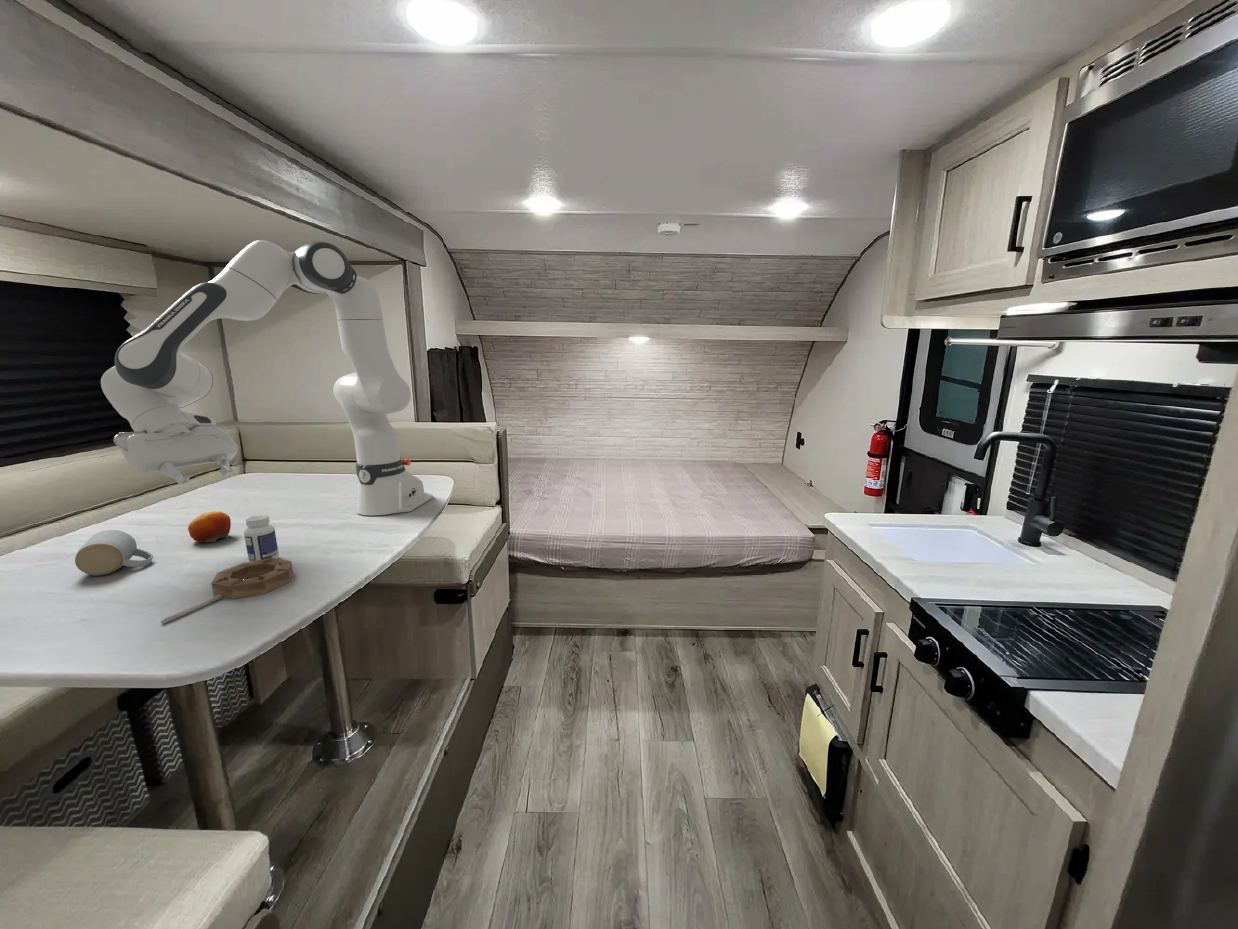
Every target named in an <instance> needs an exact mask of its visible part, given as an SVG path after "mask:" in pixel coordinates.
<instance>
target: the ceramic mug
mask: <svg viewBox="0 0 1238 929" xmlns="http://www.w3.org/2000/svg"><path fill="white" fill-rule="evenodd" d="M137 546H138V544H137V542H136V540H135V538H134V537H133V536H132V535H131V534H129V533H127V532H126V531H122V530H117V529H106V530H102V531H98V532H97V533H95V534H93V535H91V537H90V538H89V539H88V540H87V541H86V542H85V543H84V544H83V545H82V546H81V547H80V548H79V549H78V551H77V552H76V555H75V557H74V558H75V559H74V562H75V566H76V568H77V569H78V570H79V571H80V572H83V573H84V574H86V575H90V576H99V577H100V576H105V575H109V574H113V573H115V572H116V571H118V570H119V569H121V568H122V567H123V566H124V567H129V568H143V567H146V566H147V567H148V565H150V564H151V563H152V560H153V558H154V555H153V554H152V553H151V552H149V551H147V550H144V549H141V548H137ZM133 556H134V557H140V558H141V559H142V558H143V559H142V560H137V559H131V558H132V557H133Z"/></svg>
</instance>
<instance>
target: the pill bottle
mask: <svg viewBox="0 0 1238 929" xmlns="http://www.w3.org/2000/svg"><path fill="white" fill-rule="evenodd" d="M270 521H271V520H270V517H269V515H268V514H262V515H260V514H259V515H254V516H250V517H248V518H246V519H245V525H246V529H245V530H244V531H243V535H244V541H245V546H246V548H245V549H246V553H247V558H248V562H251V561H257V560H264V559H270V558H275V559H279V557H280V553H279V547H278V542H277V534H276V529H275V526H274V525H272V524H269V523H270Z"/></svg>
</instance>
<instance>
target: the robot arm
mask: <svg viewBox="0 0 1238 929" xmlns="http://www.w3.org/2000/svg"><path fill="white" fill-rule="evenodd" d="M289 287H292V288H295V289H297V290H299V291H302V292H304V293H307V294H314V295H315V294H318V295H319V294H327V296H328V297H329V298H330V300H331V301H332V302H333V305H334V308H335V314H336V316H335V317H336V320H337V328H338V333H339V334H338V335H339V339H340V345H341V351H342V352H343V354H344V355H345V356H346V357H347V358H348V360H349V361H350V363H351V365H352V367H353V369H354V371H355V372H352V373H351V372H350V373H348V374H346V375H343V376H341V377H339V378H338V379H337V380H335V382H334V385H333V391H332V392H333V396H334V399H335V401H336V402H337V403H338V404H339V405H340V406H341V408H342V409H343V411H344V414H345V416H346V418H347V421H348V424H349V426H350V429H351V432H352V437H353V441H354V447H355V449H354V450H355V454H356V455H355V456H356V462H355V470H356V472H355V473H356V476H357V479H358V480H357V502H356V503H355V507H356V511H355V512H356V513H357V514H359V515H362V516H385V515H391V514H393V515H394V514H399V513H408V512H412V511H414V510H416V508H419V507H420V506H422V505H423V504H426V503H427V502H429V501H430V500H432V499H433V498H434V496H433V494H432V493H429V492H425V488H424V484H423V482H422V480H421V479H420V478H419V477H416V476H415V475H413V474H412V473H410V472H409V471H407V470H406V466H411V463H412V461H411V459H410V458H403V459H401V456H400V448H399V438H398V434H397V433H398V432H397V431H396V429H395V428H394V427H393V426H392V424H390V421H389V418H388V416H387V415H389V414H395V413H398V412H401V411H403V410H405V409H406V408H407V407H408V405H409V404H410V401H411V398H412V397H411V388H410V385H409V384H408V382H407V381H405V380H404V379H403V378H402V376H401V375H400V374H399V372H398V371H397V368H396V366H395V363H394V362H393V359H392V356H391V354H390V352H389V348H388V343H387V342H388V341H387V336H386V330H385V324H384V323H385V322H384V316H383V311H382V306H381V303H380V302H381V301H380V300H379V296H378V293H377V290H376V286H375V285H374V283H373V282H371V281H370V280H369V279H368V278H364V277H363V276H358V275H357V272H356V270H355V269H354V268H353V266H352V264H351V263H350V261H349V259H348V258H347V256H346V255H345V254H344V252H343V250H341V249H340V248H339V247H337V246H335V245H334V244H332V243H329V242H327V241H317V240H316V241H312V242H309V243H307V244H304V245H302V246H300V247H299V248H297V249H295V250H294V251H288V250H286V249H284V248H282V247H281V246H280V245H277V244H276V243H274V242H271V241H270V240H265V239H257V240H254V241H253V242H251V243H250V244H248V245H246V246H245V247H244V248H243V249H242V250H241V251H240V252H238V254H236V255H235V256H234V257H233V258H232V259H231V260H230V261H229V263H228V264H227V265H226V266H225V267H224V269H222V271H221V272H220V273H219V274H218V275H216V276H215V277H214V278H213V279H212V280H210V281H208V282H201V283H198V284H197V285H195V286H193V287H192V288H191V289H189V290H188V291H186V292H185V293H184V294H183V295H182V296H181V297H180V298H178V299H177V300H176V301H175V302H174V303H173V304H172V305H171V306H170V307H168V308H167V309H166V310H165V311H164V312H163V313H162V314H161V315H160V316H159V317H157V318H156V319H155V321H153V322H152V323H151V324H150V325H149V326H148V327H146V328H144V329H143V330H142V331H141V332H139V333H137V334H136V335H134V336H132V337H131V338H129V339H127V340H126V341H124V342H123V343H122V344H121V345H120V346H119V347H118V348H117V350H116V352H115V356H114V366H112V367H110V368H109V369H107V370H106V371H105V372H104V373H103V374H102V376H101V379H100V387H101V389H102V392H103V394H104V396H105V397H106V399H107V400H108V402H109V403H110V404H111V405H112V408H114V410H116V412H117V413H118V414H119V415H120V416H121V417H122V418H124V419H126V420H127V421H128V423H129V424H130V427H131V429H132V430H133V431H129V432H127V431H124V432H123V431H122V432H118V433H117V434H116V435H115V436H113V443H114V444H115V445H116V446H117V447H118V448H119V449H120V451H121V453H122V455H123V458H124V459H125V460H126V461H127V463H128V464H129V466H130V467H131V468H132V469H133V471H136V472H138V473H143V474H144V473H151V472H155V471H156V472H157V471H159V473H160V474H162V475H164V476H166V477H168V478H171V479H173V480H174V481H175V482H176V483H177V484H178V485H179V484H180V485H181V484H185V483H188V482H189V480H190V477H191V476H189V475H188V474H187V472H186V471H180V470H178V468H184V467H191V466H192V467H193V466H197V465H198V466H199V465H204V464H205V465H206V464H212V463H216V465H217V466H220V469H218V472H219V473H220V474H221V475H222V476H223V477H226V476H231V475H232V474H233V473H234V469H233V467H231V465H230V461H231V460H233V459H234V458H235V457H236V455H237V453H238V452H239V446H238V445H237V443H236V442H235V441H234V440H233V438H232V437H231V436H230V435H229V434H228V433H227V432H226V431H225V430H223V429H222V428H221V427H218V426H216V425H217V422H216V420H215V419H214V418H212V417H211V416H205V415H199V414H193V413H190V412H187V411H183V410H182V408H183V409H184V408H185V407H187V406H191V405H192V404H193V403H196V402H198V401H200V400H201V399H203V398H205V396H207V395H208V394H209V393H210V391H211V390H212V388H213V384H214V377H213V373H212V372H211V370H210V369H209V368H208V367H207V366H205V365H204V364H202V363H200V362H199V361H197V360H196V359H194V358H192V357H190V356H188V355H186V354H184V353H182V349H183V347H184V346H185V345H186V344H187V343H188V342H189V341H190V340H192V338H193V337H195V335H197V333H199V331H201V330H202V328H203V327H205V326H206V325H207V324H208V323H209V322H212V321H213V320H217V319H229V320H235V321H243V322H250V321H251V322H252V321H257V320H259V319H261V318H263V317H264V316H266V314H268V313H269V312H270V311H271V310H272V308H273V307H274V306H275V304H276V303H277V301H278V300H279V298H281V296H282V294H284V292H285V291H286V290H287V289H288V288H289Z"/></svg>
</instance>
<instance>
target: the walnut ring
mask: <svg viewBox="0 0 1238 929" xmlns="http://www.w3.org/2000/svg"><path fill="white" fill-rule="evenodd" d="M293 573H294V571H293V564H292V560H287V559H283V558H277V559H275V558H270V559H264V560H257V561H251V562H249V561H246V562H242V563H239V564H235V565H234V566H232V567H229V568H226V569H223V570H222V571H219V572H216V574H215V576H214V578H213V580H212V581H211V590H212V594H213V596H214V595H215V596H217V595H221V596H222V598H225V599H231V600H236V598H237V599H242V598H249V597H252V595H253V596H257V595H258V594H259V595H263V594H268V593H269V592H272V591H274V590H276V589H278V588H279V587H282V586H285V585H287V584H289V583H291V581H292V578H291V577H293ZM260 575H262V576H260ZM253 576H257V577H253ZM248 577H251V578H248ZM246 578H248V579H246ZM243 579H244V580H243ZM215 596H214V597H215ZM241 597H242V598H241Z"/></svg>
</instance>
